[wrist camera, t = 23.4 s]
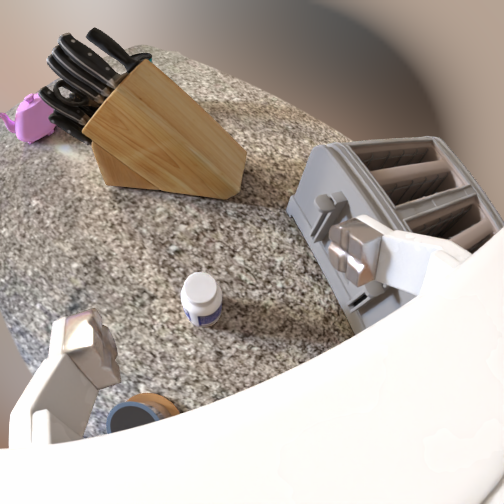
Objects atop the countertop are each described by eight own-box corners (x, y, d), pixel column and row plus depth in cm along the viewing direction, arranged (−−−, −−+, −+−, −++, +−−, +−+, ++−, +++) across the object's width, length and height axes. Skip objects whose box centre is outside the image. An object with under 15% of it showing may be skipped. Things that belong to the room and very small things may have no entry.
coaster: (178, 460, 30) (178, 461, 29) (115, 442, 29) (115, 443, 29) (188, 401, 34) (188, 401, 34) (126, 385, 34) (125, 385, 34)
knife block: (91, 146, 54) (61, 23, 27) (245, 162, 56) (271, 14, 29) (68, 183, 49) (19, 51, 22) (237, 205, 51) (265, 33, 24)
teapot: (6, 162, 50) (-11, 128, 39) (13, 133, 55) (0, 102, 45) (70, 132, 56) (58, 93, 46) (71, 106, 62) (62, 72, 51)
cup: (171, 449, 30) (159, 464, 22) (125, 437, 30) (102, 446, 22) (177, 407, 33) (167, 410, 25) (132, 395, 33) (110, 394, 25)
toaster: (265, 213, 51) (287, 136, 35) (399, 181, 61) (434, 128, 46) (347, 379, 38) (419, 360, 23) (468, 292, 48) (524, 254, 33)
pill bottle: (226, 300, 42) (229, 275, 34) (213, 332, 39) (214, 315, 32) (193, 288, 42) (188, 260, 35) (179, 319, 40) (171, 298, 32)
